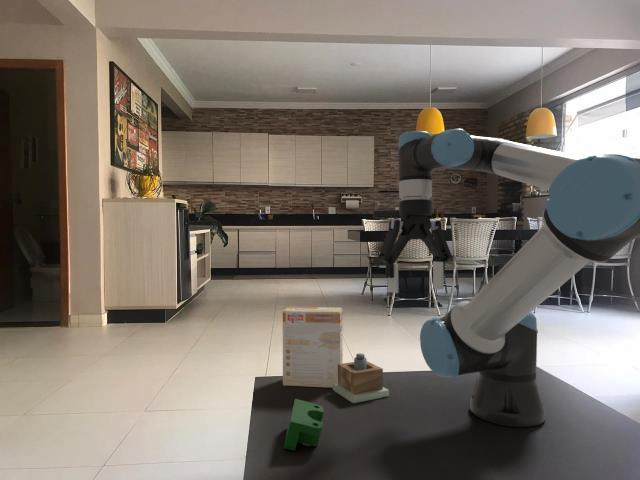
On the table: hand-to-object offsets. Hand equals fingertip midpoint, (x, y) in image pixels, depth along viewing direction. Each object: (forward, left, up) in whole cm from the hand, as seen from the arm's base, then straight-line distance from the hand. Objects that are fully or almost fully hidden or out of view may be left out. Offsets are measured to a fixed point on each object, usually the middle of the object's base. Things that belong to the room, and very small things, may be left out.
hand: (416, 290), depth 109 cm
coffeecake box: (+22, +16, -26) cm, 38 cm away
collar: (+10, +9, -24) cm, 28 cm away
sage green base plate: (+10, +9, -26) cm, 29 cm away
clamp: (-7, +32, -26) cm, 42 cm away
